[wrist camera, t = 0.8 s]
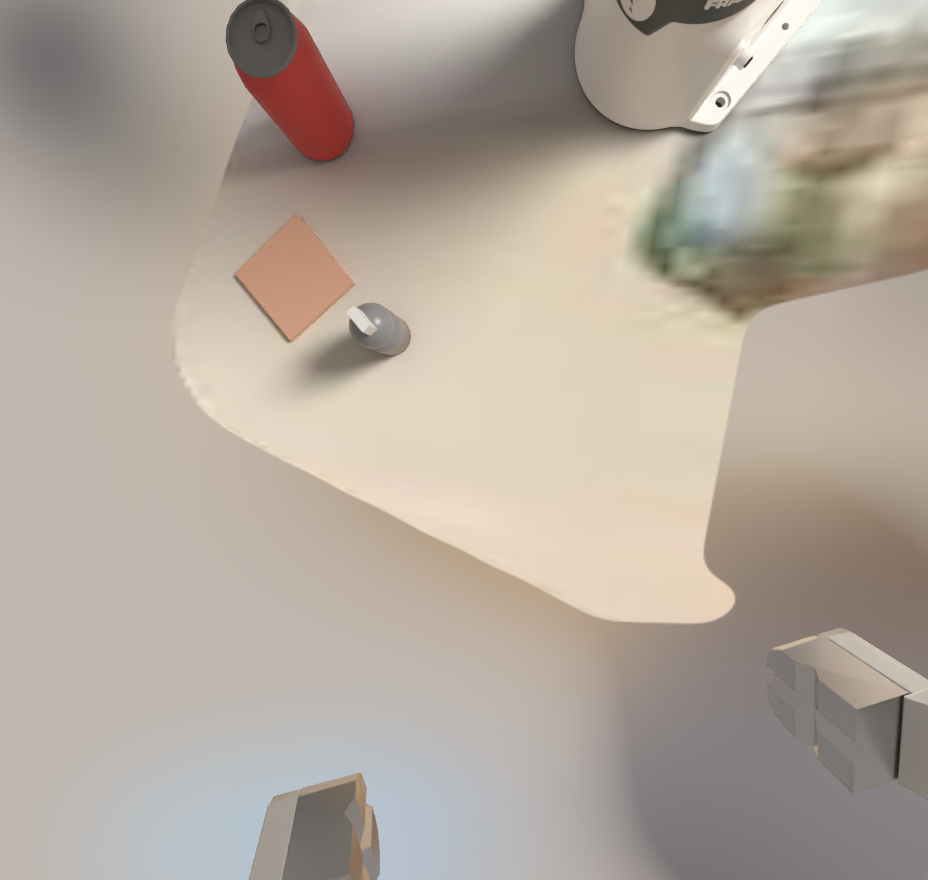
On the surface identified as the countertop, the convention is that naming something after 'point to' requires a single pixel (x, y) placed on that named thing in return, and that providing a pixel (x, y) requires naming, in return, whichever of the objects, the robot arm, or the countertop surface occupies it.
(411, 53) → the countertop surface
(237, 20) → the beer can
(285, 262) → the tile
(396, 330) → the grey pump bottle
